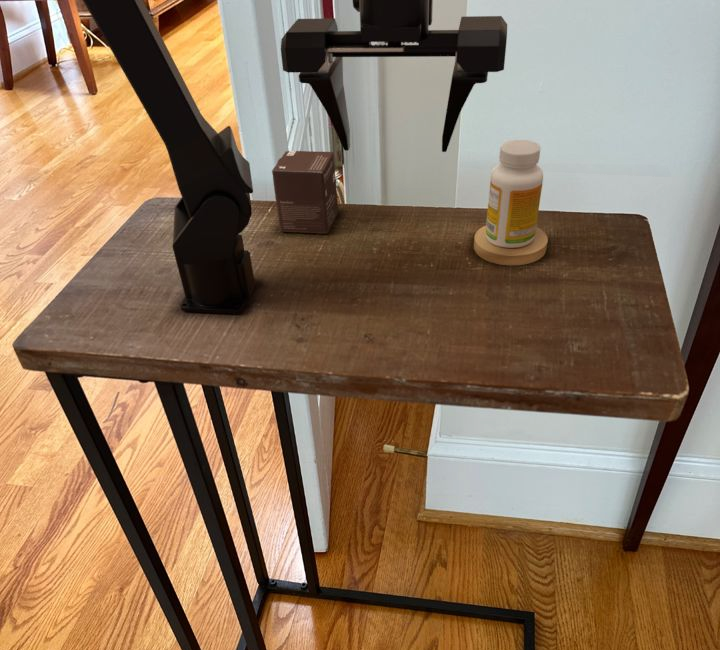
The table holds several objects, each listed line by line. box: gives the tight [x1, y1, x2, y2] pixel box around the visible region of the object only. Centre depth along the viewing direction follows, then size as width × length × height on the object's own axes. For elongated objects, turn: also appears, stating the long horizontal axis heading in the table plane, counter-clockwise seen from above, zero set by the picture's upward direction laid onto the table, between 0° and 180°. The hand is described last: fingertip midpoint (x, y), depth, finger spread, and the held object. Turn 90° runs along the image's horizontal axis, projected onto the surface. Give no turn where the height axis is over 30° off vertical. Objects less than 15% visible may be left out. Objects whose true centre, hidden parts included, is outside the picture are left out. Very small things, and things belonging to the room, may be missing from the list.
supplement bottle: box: [485, 139, 544, 248], centre depth 73 cm, size 5×5×10 cm
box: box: [271, 150, 339, 234], centre depth 81 cm, size 6×6×7 cm
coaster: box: [473, 225, 549, 266], centre depth 76 cm, size 8×8×1 cm
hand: (395, 149), depth 64 cm, fingers open, 9 cm apart
